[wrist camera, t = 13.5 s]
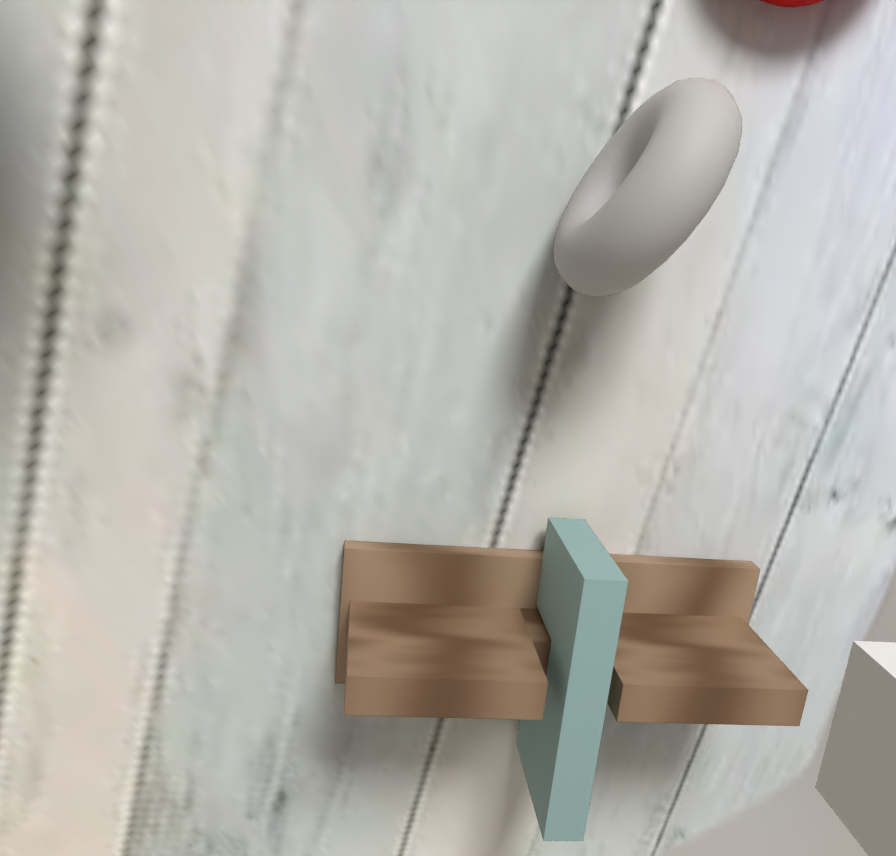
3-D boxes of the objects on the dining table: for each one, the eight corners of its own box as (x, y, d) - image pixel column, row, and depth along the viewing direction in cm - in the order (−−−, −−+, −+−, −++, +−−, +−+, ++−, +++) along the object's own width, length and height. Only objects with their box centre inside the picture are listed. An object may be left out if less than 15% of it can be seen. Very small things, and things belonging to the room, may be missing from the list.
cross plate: (550, 744, 45) (583, 841, 38) (516, 744, 45) (543, 840, 38) (585, 519, 42) (628, 580, 35) (548, 517, 41) (584, 578, 34)
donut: (576, 299, 39) (642, 327, 30) (520, 261, 39) (570, 277, 29) (694, 123, 38) (806, 93, 28) (639, 79, 37) (734, 34, 27)
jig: (335, 672, 44) (328, 771, 36) (345, 540, 42) (339, 615, 34) (725, 684, 47) (795, 778, 39) (751, 561, 44) (831, 634, 37)
